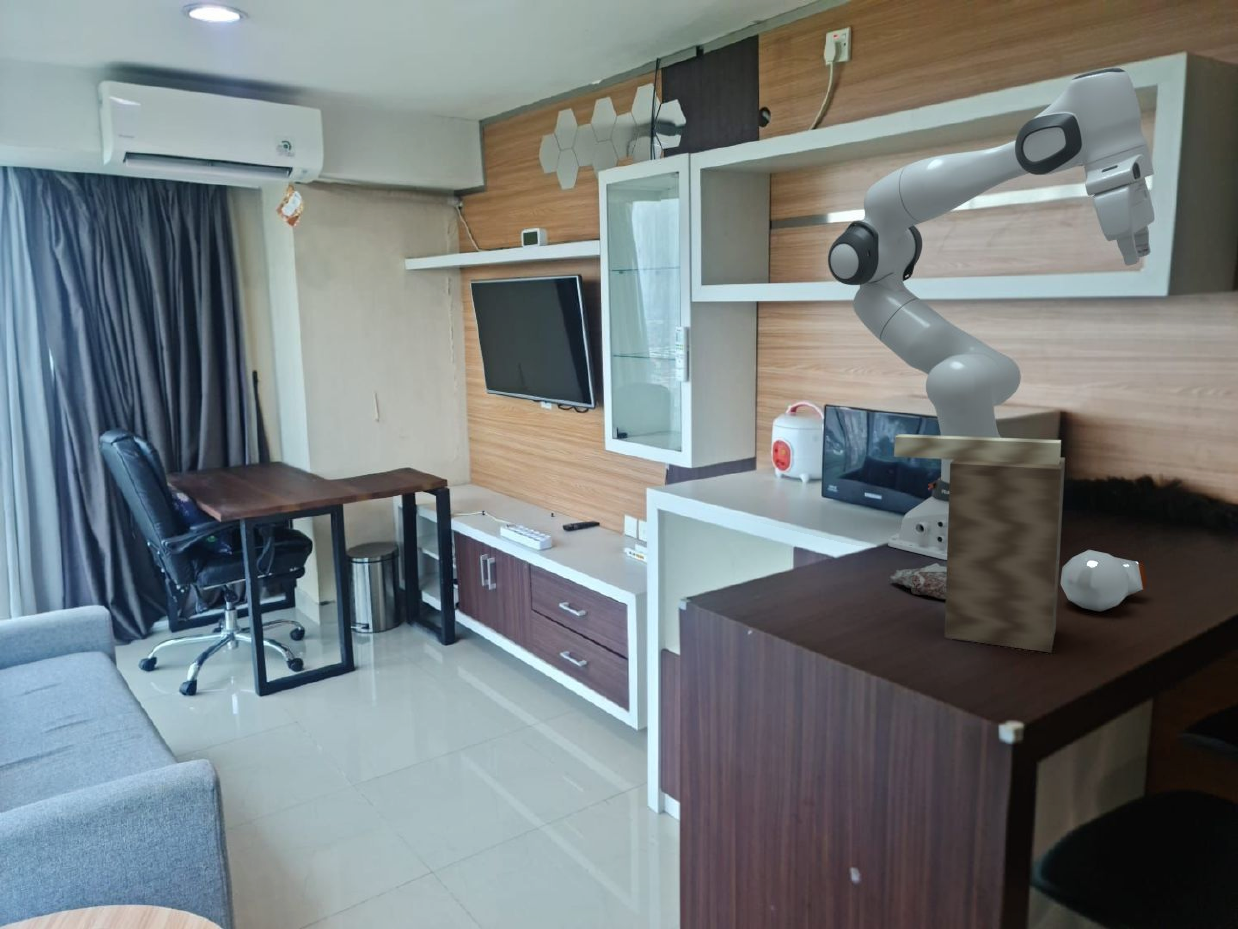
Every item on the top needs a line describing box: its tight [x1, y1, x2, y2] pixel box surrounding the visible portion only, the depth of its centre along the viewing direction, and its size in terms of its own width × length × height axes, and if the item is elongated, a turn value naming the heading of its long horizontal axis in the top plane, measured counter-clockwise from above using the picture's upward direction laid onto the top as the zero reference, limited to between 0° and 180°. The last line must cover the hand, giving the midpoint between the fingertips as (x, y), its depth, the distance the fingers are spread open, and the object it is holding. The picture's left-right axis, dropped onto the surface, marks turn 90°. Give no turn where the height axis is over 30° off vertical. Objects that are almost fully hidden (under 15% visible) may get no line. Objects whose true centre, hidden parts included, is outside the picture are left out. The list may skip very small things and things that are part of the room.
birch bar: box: [893, 433, 1062, 465], centre depth 124 cm, size 22×3×3 cm, turn 60°
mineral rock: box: [890, 562, 947, 600], centre depth 146 cm, size 15×8×4 cm, turn 25°
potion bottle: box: [1060, 549, 1149, 613], centre depth 137 cm, size 9×10×15 cm
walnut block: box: [944, 456, 1066, 654], centre depth 125 cm, size 14×10×26 cm
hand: (1138, 259), depth 137 cm, fingers open, 8 cm apart
